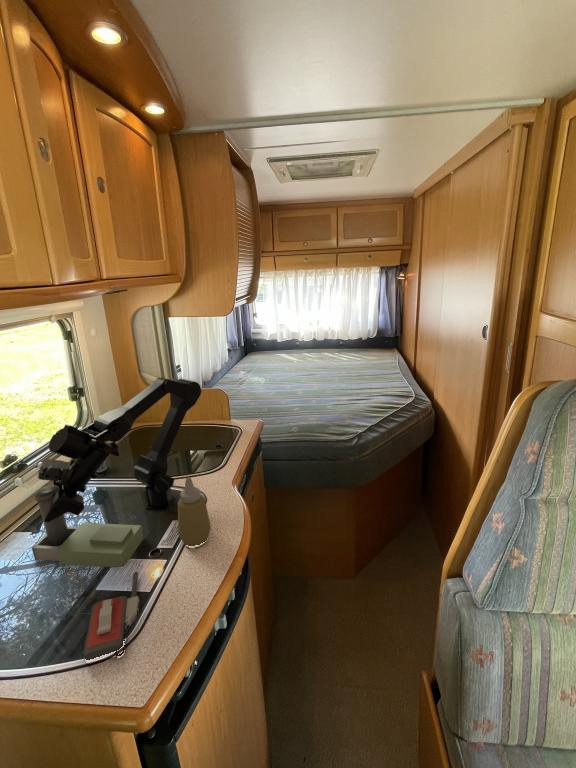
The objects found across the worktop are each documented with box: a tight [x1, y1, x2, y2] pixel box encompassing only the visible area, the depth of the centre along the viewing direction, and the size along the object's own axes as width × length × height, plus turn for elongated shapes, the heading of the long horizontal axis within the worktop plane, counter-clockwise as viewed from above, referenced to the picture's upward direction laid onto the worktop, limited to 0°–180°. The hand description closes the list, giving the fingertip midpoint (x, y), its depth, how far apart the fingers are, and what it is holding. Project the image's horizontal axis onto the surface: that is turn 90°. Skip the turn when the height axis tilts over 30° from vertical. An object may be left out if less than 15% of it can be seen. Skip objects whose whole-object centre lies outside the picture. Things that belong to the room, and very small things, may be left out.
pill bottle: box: [97, 459, 108, 473], centre depth 131 cm, size 5×5×8 cm
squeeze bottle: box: [177, 477, 212, 546], centre depth 94 cm, size 8×8×18 cm
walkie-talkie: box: [82, 571, 140, 660], centre depth 76 cm, size 9×4×20 cm
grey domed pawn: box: [33, 484, 69, 547], centre depth 93 cm, size 5×5×14 cm
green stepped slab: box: [31, 522, 144, 568], centre depth 94 cm, size 23×10×5 cm, turn 84°
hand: (46, 516), depth 92 cm, fingers closed on grey domed pawn, 4 cm apart
